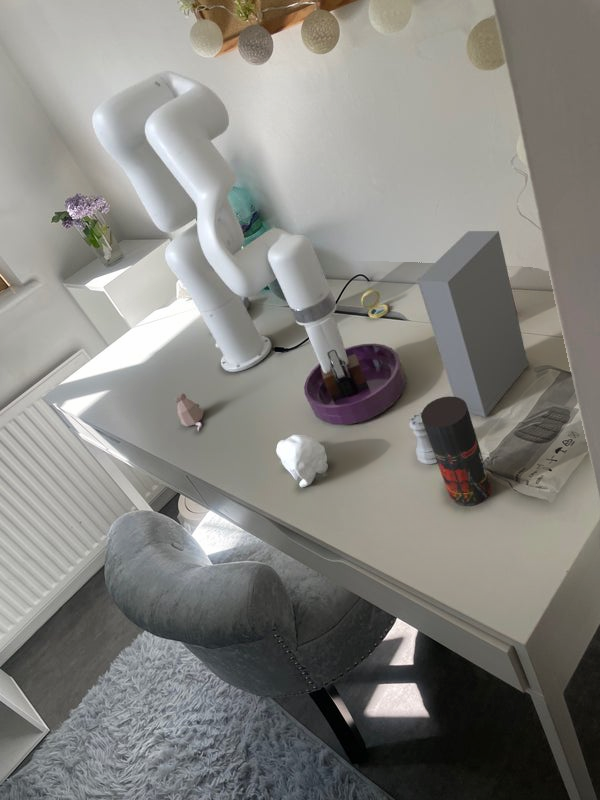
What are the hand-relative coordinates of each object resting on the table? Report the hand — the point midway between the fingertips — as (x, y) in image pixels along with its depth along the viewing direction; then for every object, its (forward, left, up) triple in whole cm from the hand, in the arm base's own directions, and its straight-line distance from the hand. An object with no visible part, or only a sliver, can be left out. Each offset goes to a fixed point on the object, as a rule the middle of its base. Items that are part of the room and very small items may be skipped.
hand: (347, 386), depth 116 cm
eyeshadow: (-12, +25, -2) cm, 28 cm away
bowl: (+2, 0, -1) cm, 3 cm away
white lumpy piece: (+5, -19, -2) cm, 20 cm away
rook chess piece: (+24, -9, -2) cm, 26 cm away
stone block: (-56, +16, -2) cm, 58 cm away
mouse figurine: (-30, -18, -2) cm, 35 cm away
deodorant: (+33, -13, -2) cm, 36 cm away
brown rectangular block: (0, 0, -1) cm, 1 cm away
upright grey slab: (+25, +8, -2) cm, 27 cm away
